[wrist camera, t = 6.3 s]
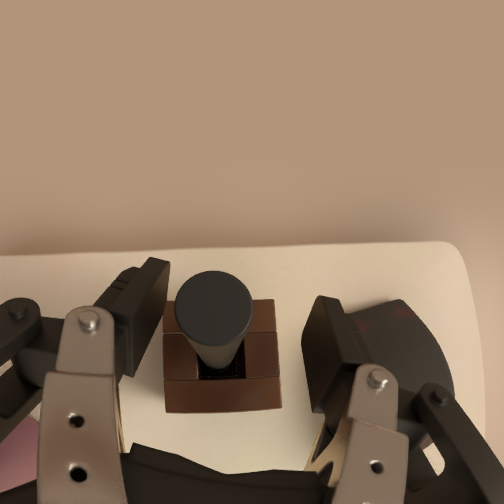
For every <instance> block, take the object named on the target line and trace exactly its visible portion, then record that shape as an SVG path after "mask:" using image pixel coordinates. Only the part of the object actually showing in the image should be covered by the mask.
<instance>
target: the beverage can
mask: <svg viewBox="0 0 504 504" xmlns="http://www.w3.org/2000/svg"><path fill="white" fill-rule="evenodd" d="M38 431H39V423H37V422H36V421H35V420H33V419H31V418H29V417H27V416H26V417H25V418H24V419H23V420H22V421H21V422H20V424H19V425H18V426H17V427H16V428H15V429H14V430H13V431H12V432H11V433H10V434H9V435H8V436H7V437H6V438H5V439H4V440H3V442H2V443H1V444H0V493H1V492H3V491H6V490H9V489H12V488H14V487H17V486H20V485H22V484H25V483H27V482H30V481H32V480H35V479H37V447H38Z"/></svg>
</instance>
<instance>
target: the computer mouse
mask: <svg viewBox="0 0 504 504" xmlns="http://www.w3.org/2000/svg"><path fill="white" fill-rule="evenodd" d="M349 315H350V316H351V317H352V318H353V319H354V320H355V321H356V322H357V324H358V326H359V328H360V330H361V334H362V335H363V337H364V339H365V341H364V342H366V344H367V346H368V348H369V351H370V353H371V355H372V358H373V360H374V362H375V364H376V365H379V366H382V367H384V368H385V369H387V370H388V371H390V372H391V373H392V374H393V375H394V377H395V378H396V380H397V382H398V387H399V388H402V389H405V390H408V391H412V392H415V393H417V392H418V391H419V390H420V388H421V387H422V386H423V385H424V384H425V383H436V384H439V385H441V386H443V387H444V388H446V389H447V390H448V391H449V392H450V393H451V395H452V396H453V397H454V399H455V393H454V386H453V381H452V376H451V373H450V370H449V366H448V364H447V361H446V359H445V356H444V354H443V352H442V350H441V348H440V346H439V344H438V342H437V341H436V339H435V337H434V336H433V335H432V333H431V332H430V330H429V329H428V328H427V327H426V325H425V324H424V323H423V322H422V320H421V319H420V318H419V317H418V316H417V315H416V314H415V312H414V311H413V310H412V309H411V308H410V307H409V306H408V305H407V304H406V303H405V302H404V301H403V300H401V299H397V300H393V301H390V302H387V303H384V304H381V305H378V306H375V307H372V308H368V309H365V310H362V311H359V312H356V313H352V314H349ZM432 443H433V441H432V439H431V438H430V437H429V438H428V439H427V440H426V441H425V442H424V443H423V444H422V445H421V446H420V447H421V449H422V450H424V449H425V448H426V447H428V446H429V445H430V444H432Z"/></svg>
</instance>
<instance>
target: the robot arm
mask: <svg viewBox="0 0 504 504" xmlns="http://www.w3.org/2000/svg"><path fill="white" fill-rule="evenodd" d="M169 274H170V262H169V261H165V260H161V259H157V258H153V257H149V258H148V259H147V261H146V262H145V263H144V264H143V266H142V267H141V268H137V267H131V268H129V269H127V270H124V271H122V272H121V273H120V274H119V276H118V277H117V278H116V280H114V281H113V282H112V284H111V285H110V287H108V288H107V289H106V290H105V292H104V293H103V294H102V295H101V296H100V297H99V299H98V300H97V301H96V302H95V303H94V305H93V306H82V307H78V308H75V309H73V310H72V311H70V312H69V313H68V314H67V316H66V318H65V319H58V318H50V317H42V316H41V313H40V308H39V305H38V304H37V303H36V302H35V301H33V300H31V299H28V298H14V299H10V300H8V301H6V302H4V303H3V304H1V305H0V367H1V366H2V365H3V364H4V363H6V362H7V361H8V360H9V359H11V361H12V364H13V366H12V367H10V368H9V369H8V370H7V371H6V372H5V373H3V374H2V375H1V376H0V444H1V443H2V442H3V440H4V439H5V438H6V437H7V436H8V435H9V434H10V433H11V432H12V431H13V430H14V429H15V428H16V427H17V426H18V425H19V424H20V422H21V421H22V420H23V419H24V418H25V417H26V416H27V415H28V414H29V413H30V412H31V411H32V410H33V409H34V408H35V407H36V406H37V405H38V404H39V403H40V402H41V401H42V402H41V410H40V420H39V431H38V447H37V479H35V480H32V481H30V482H27V483H25V484H22V485H20V486H17V487H14V488H12V489H9V490H6V491H3V492H1V493H0V504H504V468H503V466H502V465H501V463H500V462H499V460H498V459H497V457H496V456H495V454H494V453H493V451H492V450H491V448H490V447H489V446H488V444H487V443H486V441H485V440H484V438H483V437H482V435H481V434H480V433H479V431H478V430H477V428H476V427H475V426H474V424H473V423H472V421H471V420H470V419H469V417H468V416H467V415H466V413H465V412H464V411H463V409H462V408H461V407H460V405H459V404H458V403H457V401H456V400H455V399H454V397H453V396H452V395H451V393H450V392H449V391H448V390H447V389H446V388H444V387H443V386H441V385H439V384H436V383H425V384H424V385H423V386H422V387H421V388H420V390H419V391H418V392H417V393H415V392H412V391H408V390H405V389H402V388H399V387H398V382H397V380H396V378H395V377H394V375H393V374H392V373H391V372H390V371H388V370H387V369H385V368H384V367H382V366H379V365H376V364H375V362H374V360H373V358H372V355H371V353H370V351H369V348H368V346H367V344H366V342H364V341H365V339H364V337H363V335H362V334H361V330H360V328H359V326H358V324H357V322H356V321H355V320H354V319H353V318H352V317H351V316H350V315H349V314H345V313H344V310H343V308H342V306H341V303H340V301H339V300H338V299H335V298H330V297H325V296H320V295H319V296H318V297H317V298H316V300H315V302H314V305H313V307H312V310H311V312H310V315H309V317H308V320H307V322H306V325H305V327H304V330H303V333H302V338H301V347H302V353H303V359H304V365H305V371H306V377H307V383H308V390H309V396H310V402H311V409H312V413H323V414H325V420H324V421H323V423H322V424H321V426H320V428H319V431H318V434H317V437H316V440H315V442H314V445H313V448H312V451H311V453H310V456H309V459H308V461H307V464H306V466H305V469H304V471H292V470H275V469H274V470H267V471H259V472H250V473H240V474H224V473H220V472H218V471H215V470H213V469H210V468H208V467H205V466H203V465H200V464H198V463H196V462H193V461H191V460H189V459H186V458H184V457H182V456H180V455H177V454H173V453H169V452H165V451H161V450H157V449H154V448H150V447H147V446H143V445H140V444H137V443H134V442H133V444H132V447H131V450H130V453H126V451H125V445H124V438H123V430H122V421H121V410H120V398H119V385H118V384H119V382H120V380H121V378H122V376H123V374H124V375H127V376H130V377H134V375H135V373H136V371H137V368H138V366H139V364H140V362H141V360H142V357H143V355H144V353H145V351H146V349H147V347H148V345H149V342H150V340H151V338H152V336H153V334H154V332H155V330H156V328H157V326H158V324H159V321H160V319H161V317H162V315H163V312H164V309H165V305H166V300H167V291H168V282H169ZM429 437H430V438H431V439H432V441H433V442H434V444H435V446H436V447H437V449H438V450H439V452H440V454H441V455H442V457H443V459H444V461H445V468H444V470H443V472H442V473H441V474H440V475H439V476H437V474H436V473H435V471H434V469H433V468H432V466H431V464H430V463H429V461H428V459H427V457H426V456H425V454H424V452H423V451H422V449H421V447H420V446H421V445H422V444H423V443H424V442H425V441H426V440H427V439H428V438H429Z"/></svg>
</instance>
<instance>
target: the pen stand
mask: <svg viewBox="0 0 504 504" xmlns="http://www.w3.org/2000/svg"><path fill="white" fill-rule="evenodd" d="M252 301H253V318H252V321H251V324H250V326H249V328H248V330H247V332H246V334H245V336H244V338H243V340H242V342H241V344H240V346H239V348H238V350H237V352H236V354H235V358H236V375H237V376H214V377H200V376H201V373H200V356H199V355H198V354H197V352H196V351H195V349H194V348H193V347H192V345H191V344H190V342H189V341H188V339H187V338H186V337H185V335H184V334H183V332H182V331H181V329H180V328H179V326H178V324H177V321H176V318H175V313H174V304H175V301H166V305H165V309H164V312H163V334H164V335H163V370H164V379H165V380H164V393H165V409H166V413H230V412H246V411H259V410H270V409H279V408H282V398H281V383H280V368H279V354H278V341H277V332H276V317H275V304H274V300H273V299H263V300H252Z"/></svg>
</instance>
